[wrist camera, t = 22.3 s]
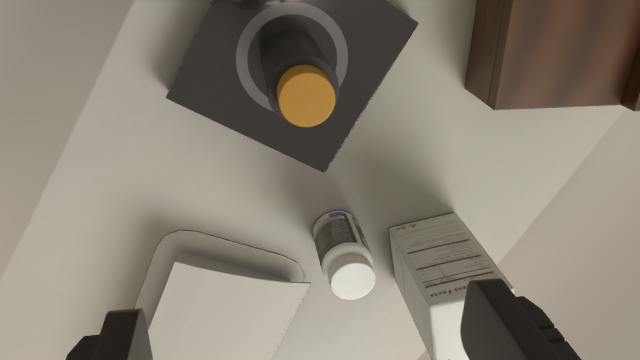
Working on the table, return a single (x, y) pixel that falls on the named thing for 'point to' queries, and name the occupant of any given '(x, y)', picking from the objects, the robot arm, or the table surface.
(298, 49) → the spice bottle
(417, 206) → the table surface
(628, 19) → the spice shelf
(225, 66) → the hob
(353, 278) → the pill bottle
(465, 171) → the table surface
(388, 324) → the table surface
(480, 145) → the table surface
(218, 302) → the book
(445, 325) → the white packaging box
